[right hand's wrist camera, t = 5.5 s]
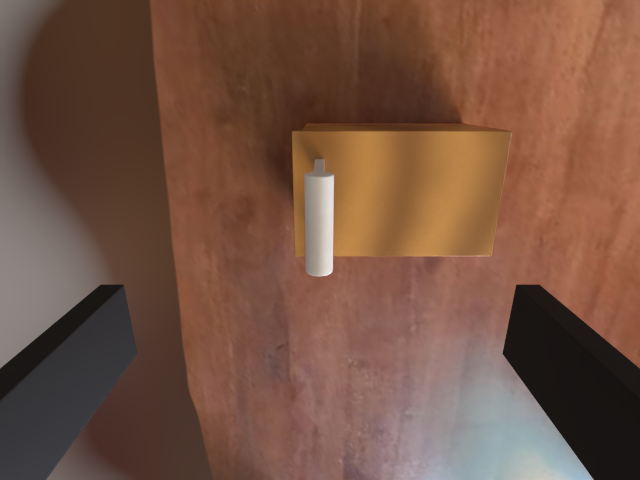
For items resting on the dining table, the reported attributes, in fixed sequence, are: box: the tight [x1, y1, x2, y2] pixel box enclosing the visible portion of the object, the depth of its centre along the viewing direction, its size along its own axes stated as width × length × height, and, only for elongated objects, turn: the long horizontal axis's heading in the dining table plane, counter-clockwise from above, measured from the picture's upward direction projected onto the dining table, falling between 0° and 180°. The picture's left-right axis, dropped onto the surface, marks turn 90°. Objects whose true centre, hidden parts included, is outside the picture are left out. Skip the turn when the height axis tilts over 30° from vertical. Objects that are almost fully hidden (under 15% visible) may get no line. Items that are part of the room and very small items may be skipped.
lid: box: [292, 130, 512, 276], centre depth 26 cm, size 16×10×9 cm, turn 90°
